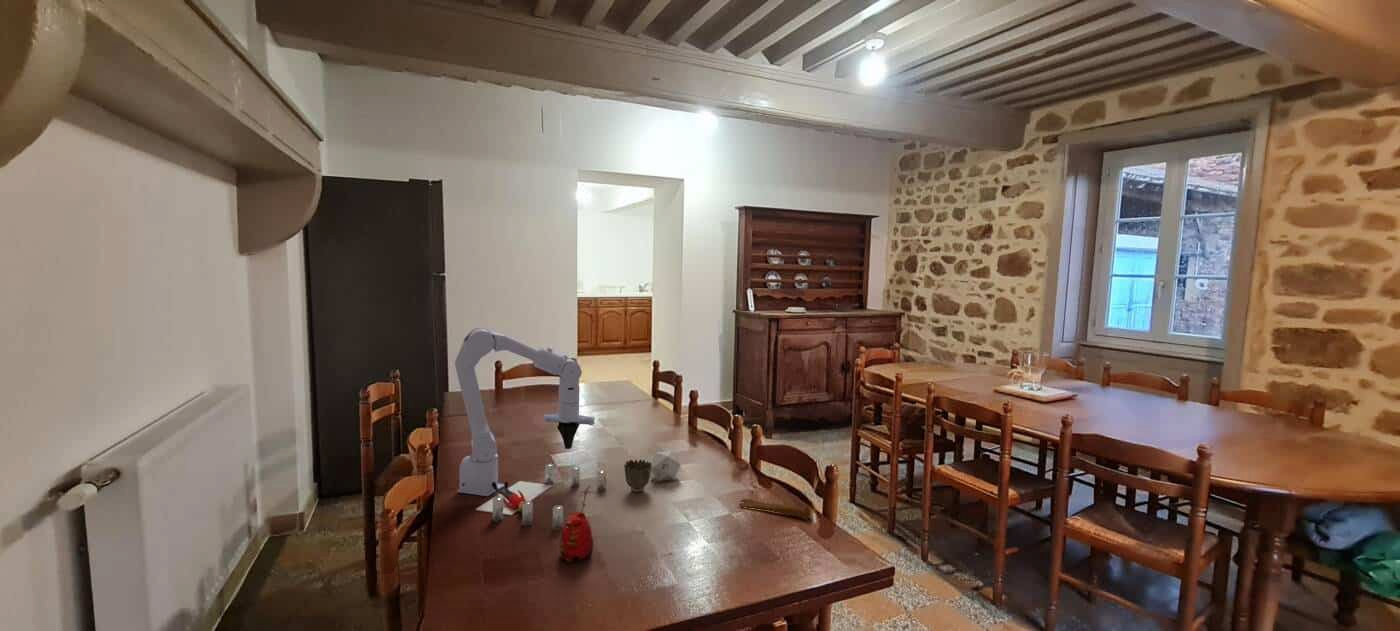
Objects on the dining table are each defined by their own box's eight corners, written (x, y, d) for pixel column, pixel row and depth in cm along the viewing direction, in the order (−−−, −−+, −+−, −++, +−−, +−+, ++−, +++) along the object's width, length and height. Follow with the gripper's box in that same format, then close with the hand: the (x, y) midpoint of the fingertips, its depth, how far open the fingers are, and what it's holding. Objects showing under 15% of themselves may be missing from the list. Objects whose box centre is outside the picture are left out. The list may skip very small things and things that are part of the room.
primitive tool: (734, 508, 151) (735, 495, 150) (742, 501, 156) (742, 488, 155) (807, 524, 143) (807, 510, 142) (812, 515, 148) (813, 502, 147)
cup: (646, 498, 154) (646, 469, 153) (620, 495, 156) (620, 466, 155) (654, 488, 161) (654, 460, 161) (628, 485, 163) (629, 457, 162)
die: (643, 480, 169) (649, 461, 163) (655, 458, 176) (661, 439, 170) (668, 492, 168) (675, 473, 162) (679, 470, 175) (686, 451, 169)
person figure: (508, 474, 156) (532, 496, 142) (512, 487, 157) (537, 509, 143) (489, 483, 153) (513, 506, 139) (494, 496, 154) (518, 520, 140)
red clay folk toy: (557, 550, 125) (557, 483, 124) (589, 545, 128) (590, 479, 126) (562, 567, 118) (562, 496, 117) (596, 561, 121) (597, 492, 119)
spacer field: (490, 520, 138) (490, 500, 138) (547, 480, 165) (548, 463, 164) (559, 530, 134) (560, 510, 133) (607, 488, 160) (607, 470, 160)
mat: (475, 510, 144) (475, 509, 144) (519, 482, 163) (519, 481, 163) (511, 515, 141) (511, 514, 141) (551, 486, 160) (551, 485, 160)
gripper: (539, 403, 161) (538, 450, 162) (589, 406, 159) (588, 453, 160) (548, 397, 168) (548, 443, 169) (596, 400, 166) (596, 446, 167)
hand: (568, 447), depth 165 cm, fingers closed
